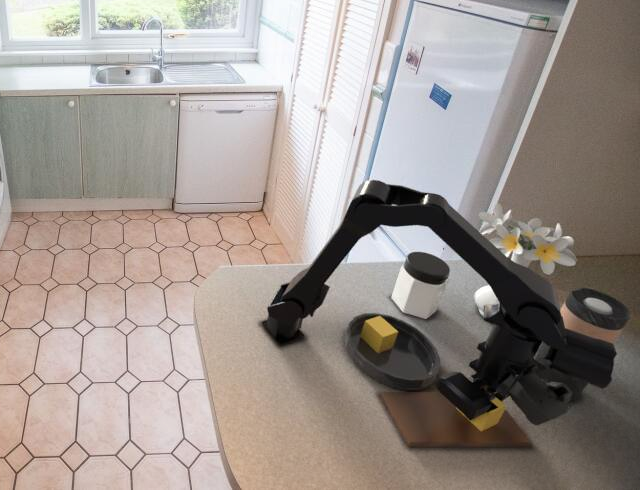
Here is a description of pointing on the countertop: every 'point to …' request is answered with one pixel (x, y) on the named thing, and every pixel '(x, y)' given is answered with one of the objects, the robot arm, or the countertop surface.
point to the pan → (394, 355)
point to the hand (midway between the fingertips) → (476, 413)
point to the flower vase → (523, 246)
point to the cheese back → (379, 334)
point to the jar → (420, 284)
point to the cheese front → (489, 416)
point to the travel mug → (589, 326)
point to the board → (446, 423)
